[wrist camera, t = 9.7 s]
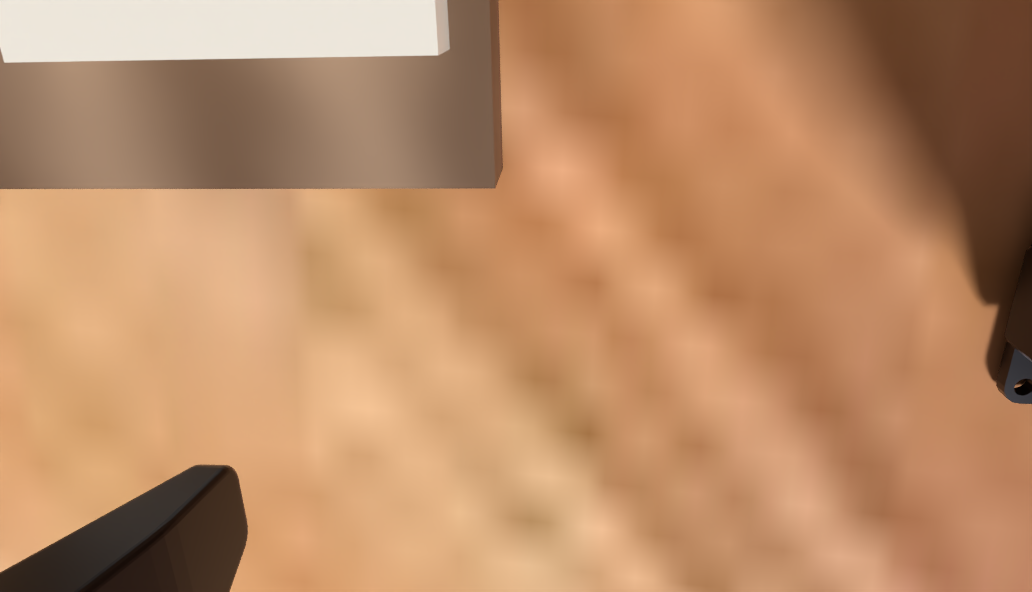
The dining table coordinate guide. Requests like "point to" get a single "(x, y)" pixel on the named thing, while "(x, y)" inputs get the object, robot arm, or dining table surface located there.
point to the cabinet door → (219, 29)
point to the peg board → (261, 119)
